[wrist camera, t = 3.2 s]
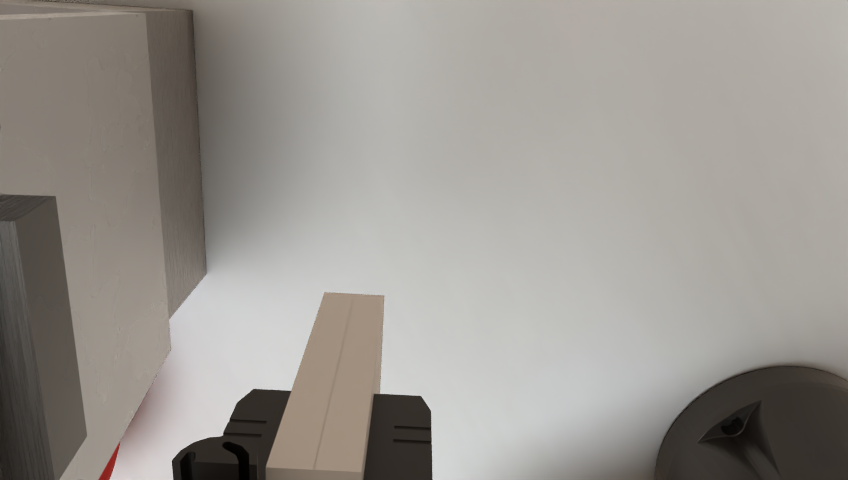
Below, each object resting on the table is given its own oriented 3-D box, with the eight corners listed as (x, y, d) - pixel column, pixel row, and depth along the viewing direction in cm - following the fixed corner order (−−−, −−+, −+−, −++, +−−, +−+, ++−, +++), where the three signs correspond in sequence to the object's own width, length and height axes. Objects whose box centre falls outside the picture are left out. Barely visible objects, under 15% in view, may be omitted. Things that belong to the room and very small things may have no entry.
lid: (113, 11, 26) (176, 15, 26) (144, 349, 31) (197, 349, 31) (-239, 21, 11) (-81, 31, 11) (-66, 679, 16) (40, 675, 16)
